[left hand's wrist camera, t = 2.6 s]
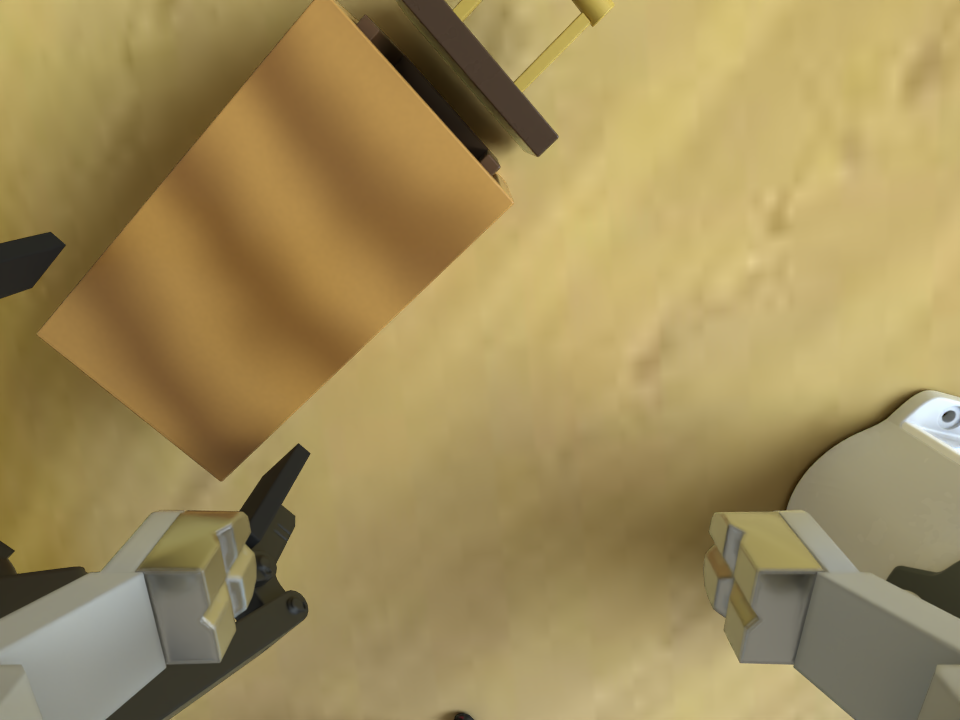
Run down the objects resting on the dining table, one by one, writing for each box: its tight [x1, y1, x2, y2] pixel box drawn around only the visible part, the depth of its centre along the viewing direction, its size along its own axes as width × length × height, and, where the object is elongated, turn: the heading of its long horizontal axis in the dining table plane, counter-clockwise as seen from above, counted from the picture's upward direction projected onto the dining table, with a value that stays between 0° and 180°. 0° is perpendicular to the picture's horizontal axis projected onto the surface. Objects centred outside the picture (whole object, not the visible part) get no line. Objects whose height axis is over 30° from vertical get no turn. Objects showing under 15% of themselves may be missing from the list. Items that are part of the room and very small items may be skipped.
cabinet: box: [37, 0, 514, 481], centre depth 31 cm, size 20×11×11 cm, turn 133°
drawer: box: [356, 0, 614, 176], centre depth 29 cm, size 24×9×9 cm, turn 133°
